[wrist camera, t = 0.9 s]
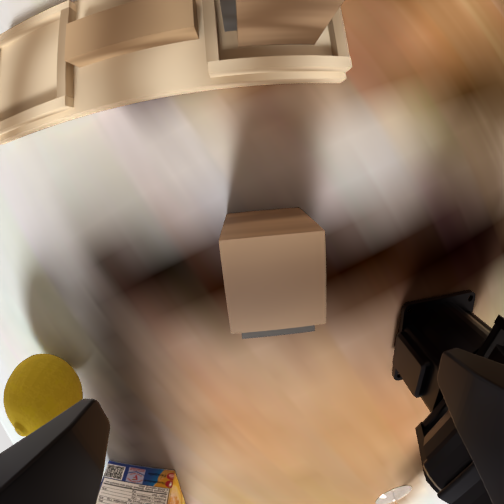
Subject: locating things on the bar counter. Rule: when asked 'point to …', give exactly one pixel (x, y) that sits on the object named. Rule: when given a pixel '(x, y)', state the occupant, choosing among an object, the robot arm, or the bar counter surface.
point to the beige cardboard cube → (273, 272)
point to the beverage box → (139, 485)
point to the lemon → (40, 392)
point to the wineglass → (394, 495)
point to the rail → (160, 54)
